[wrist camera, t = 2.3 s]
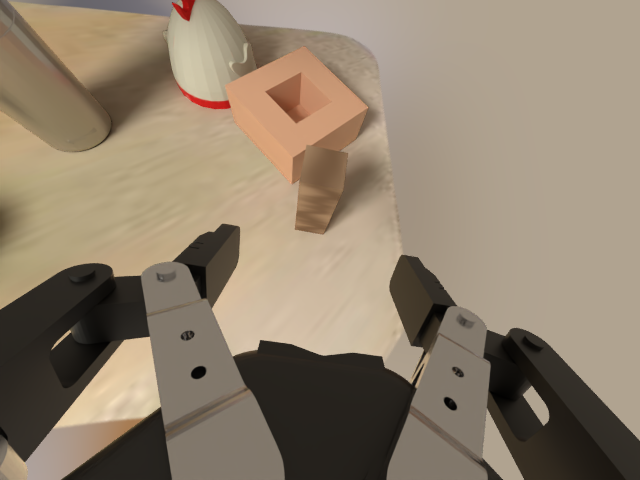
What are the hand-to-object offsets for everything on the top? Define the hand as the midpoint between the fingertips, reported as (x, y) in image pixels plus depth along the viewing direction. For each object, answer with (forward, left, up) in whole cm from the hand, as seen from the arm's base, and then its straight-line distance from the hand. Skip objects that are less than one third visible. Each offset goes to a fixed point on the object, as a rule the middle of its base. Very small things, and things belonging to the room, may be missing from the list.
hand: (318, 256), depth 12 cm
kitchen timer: (-38, +14, -23) cm, 47 cm away
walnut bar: (-7, +9, -23) cm, 26 cm away
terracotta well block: (-21, +18, -23) cm, 36 cm away
